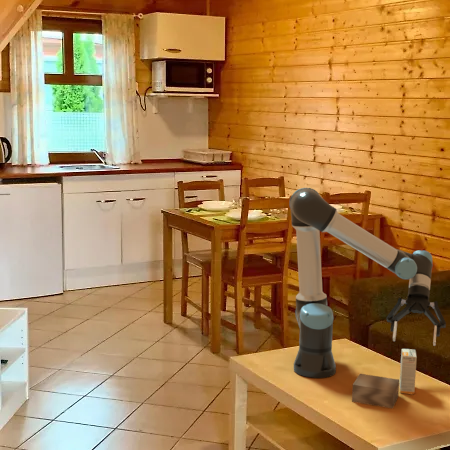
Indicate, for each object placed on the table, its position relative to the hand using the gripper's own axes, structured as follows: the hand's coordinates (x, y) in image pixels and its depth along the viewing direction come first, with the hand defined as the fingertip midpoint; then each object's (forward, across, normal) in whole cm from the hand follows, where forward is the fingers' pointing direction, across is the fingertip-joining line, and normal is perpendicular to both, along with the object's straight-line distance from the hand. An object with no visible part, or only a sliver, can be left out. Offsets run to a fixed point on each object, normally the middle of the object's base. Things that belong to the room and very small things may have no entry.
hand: (413, 341), depth 247 cm
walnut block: (+25, +10, +5) cm, 27 cm away
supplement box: (+17, +1, -3) cm, 17 cm away
